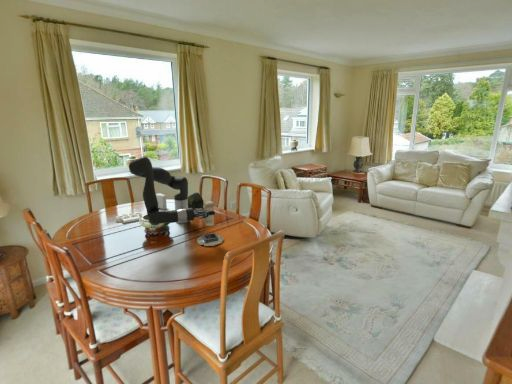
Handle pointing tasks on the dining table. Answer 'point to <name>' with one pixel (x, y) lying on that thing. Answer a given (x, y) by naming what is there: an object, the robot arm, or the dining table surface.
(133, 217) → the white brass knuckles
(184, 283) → the dining table surface
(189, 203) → the squash
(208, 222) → the wedge peg
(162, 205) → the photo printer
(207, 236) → the rosette plate
